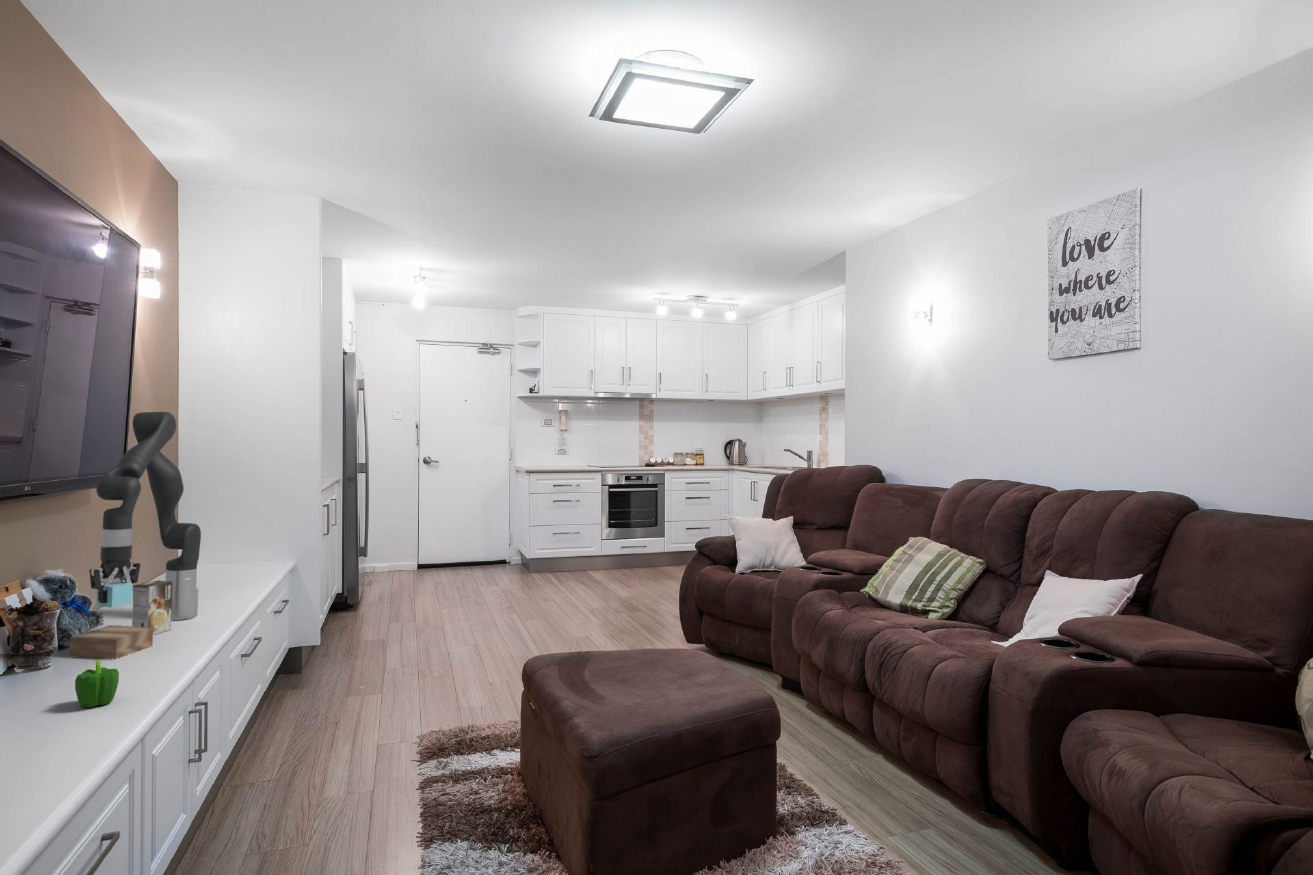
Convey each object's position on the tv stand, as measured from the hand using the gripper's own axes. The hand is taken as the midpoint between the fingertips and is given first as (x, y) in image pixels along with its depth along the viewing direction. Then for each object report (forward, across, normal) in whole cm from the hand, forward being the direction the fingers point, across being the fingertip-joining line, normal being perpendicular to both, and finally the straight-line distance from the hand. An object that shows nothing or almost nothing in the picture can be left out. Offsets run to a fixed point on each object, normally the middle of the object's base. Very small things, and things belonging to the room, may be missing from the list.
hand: (114, 600), depth 219 cm
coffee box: (+15, -20, -9) cm, 27 cm away
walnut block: (+15, 0, 0) cm, 15 cm away
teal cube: (+1, 0, 0) cm, 1 cm away
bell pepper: (+15, +33, +38) cm, 53 cm away
